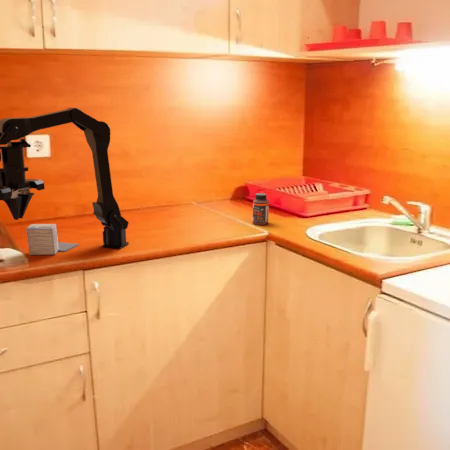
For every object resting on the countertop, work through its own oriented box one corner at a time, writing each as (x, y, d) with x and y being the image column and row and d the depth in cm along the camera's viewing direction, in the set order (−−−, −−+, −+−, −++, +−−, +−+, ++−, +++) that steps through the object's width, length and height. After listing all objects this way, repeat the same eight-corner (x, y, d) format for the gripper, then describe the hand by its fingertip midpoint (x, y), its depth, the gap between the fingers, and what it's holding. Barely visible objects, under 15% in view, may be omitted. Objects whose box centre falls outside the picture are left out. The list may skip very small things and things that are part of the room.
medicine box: (59, 249, 168) (56, 223, 165) (55, 255, 164) (52, 228, 161) (33, 249, 168) (30, 223, 165) (29, 255, 163) (25, 228, 160)
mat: (79, 245, 174) (79, 244, 174) (64, 252, 167) (64, 250, 167) (55, 242, 177) (55, 241, 177) (40, 249, 170) (39, 248, 170)
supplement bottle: (250, 224, 202) (251, 194, 199) (254, 221, 207) (255, 192, 205) (266, 225, 200) (266, 195, 197) (269, 222, 206) (270, 193, 203)
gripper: (11, 159, 161) (16, 210, 164) (-36, 167, 143) (-29, 224, 147) (43, 160, 157) (47, 213, 161) (-1, 169, 140) (5, 227, 144)
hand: (18, 219), depth 153 cm, fingers closed
